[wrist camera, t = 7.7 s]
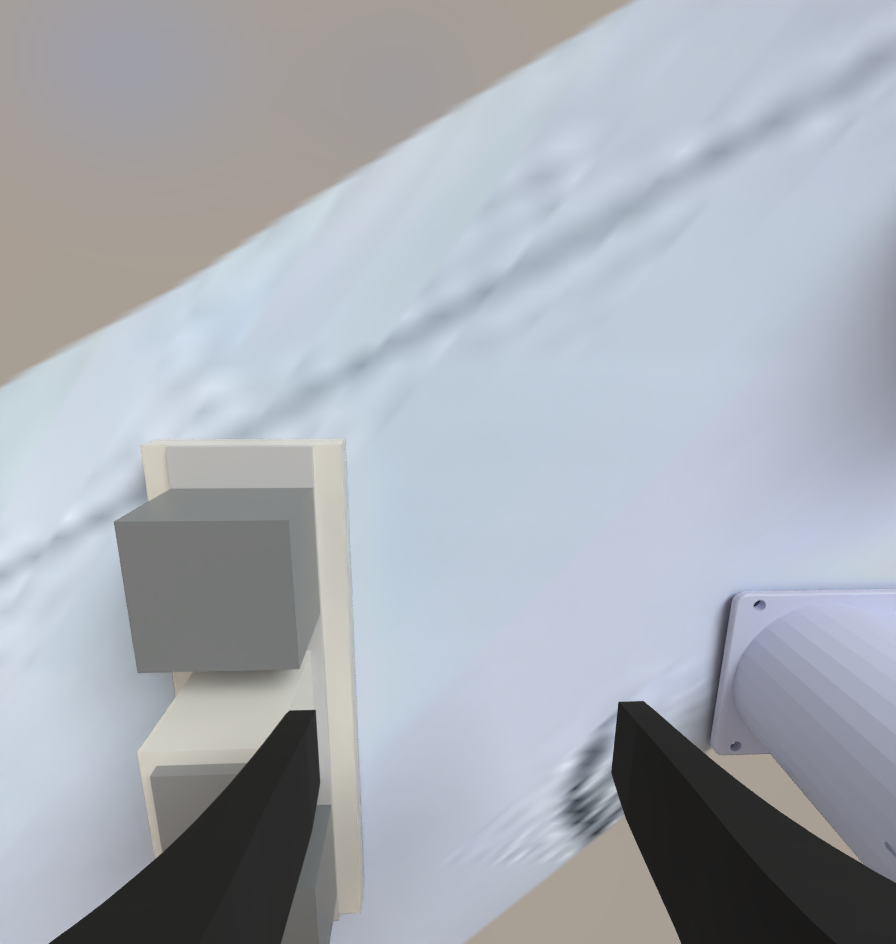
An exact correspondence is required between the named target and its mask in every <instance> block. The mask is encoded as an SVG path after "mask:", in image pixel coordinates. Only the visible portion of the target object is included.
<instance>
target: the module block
mask: <svg viewBox="0 0 896 944" xmlns="http://www.w3.org/2000/svg"><path fill="white" fill-rule="evenodd" d="M289 710H315V708H314V693H313V678H312V663H311V651H306V653H305V656H304V658H303V661H302V664H301V666H300V669H289V670H244V671H199V672H193V673H192V674H191V675H190V677H189V678H188V680H187V681H186V683H185V684H184V685H183V687H182V688H181V690H180V691H179V693H178V694H177V696H176V697H175V698H174V700H173V701H172V703H171V704H170V706H169V707H168V708H167V710H166V711H165V713H164V714H163V716H162V717H161V719H160V720H159V721H158V723H157V724H156V726H155V727H154V729H153V730H152V731H151V733H150V734H149V736H148V737H147V739H146V740H145V742H144V743H143V744H142V746H141V747H140V749H139V750H138V752H137V755H138V761H139V767H140V773H141V779H142V785H143V791H144V797H145V803H146V809H147V815H148V820H149V826H150V832H151V838H152V844H153V850H154V856H155V859H156V858H157V857H158V856H159V855H160V854H161V853H162V852H163V851H165V850H166V849H167V848H168V847H169V846H170V845H171V844H172V843H173V842H174V841H175V840H176V839H177V838H178V837H179V836H180V835H181V834H182V833H183V832H184V831H185V830H186V829H187V828H188V827H189V826H190V825H191V824H192V823H193V822H194V821H195V820H196V819H197V818H198V817H199V816H200V815H201V814H202V813H203V812H204V811H205V810H206V809H207V808H208V807H209V805H210V804H211V803H212V802H213V801H214V800H215V799H216V798H217V797H218V796H219V795H220V794H221V792H222V791H223V790H224V789H225V788H226V787H227V786H228V785H229V784H230V782H231V781H232V780H233V779H234V778H235V777H236V775H237V774H238V773H239V772H240V771H241V769H242V768H243V767H244V766H245V765H246V764H247V762H248V761H249V760H250V759H251V758H252V756H253V755H254V754H255V753H256V751H257V750H258V749H259V748H260V746H261V745H262V744H263V743H264V741H265V740H266V739H267V738H268V736H269V735H270V734H271V732H272V731H273V730H274V728H275V727H276V726H277V725H278V723H279V722H280V721H281V719H282V718H283V717H284V715H285V714H286V713H287V712H288V711H289Z"/></svg>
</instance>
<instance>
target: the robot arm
mask: <svg viewBox="0 0 896 944" xmlns="http://www.w3.org/2000/svg"><path fill="white" fill-rule="evenodd" d="M758 600H760V602H759V604H758V605H757V606H754V604H755V602H757V601H758ZM733 742H735V743H734V744H732V743H733ZM710 745H711V746H712V748H713V749H714V751H715V752H716V753H717V754H719V755H744V754H745V755H746V754H771V755H772V756H773V758H774V759H775V760H776V761H777V762H778V763H779V765H780V766H781V767H782V768H783V769H784V770H785V772H786V773H787V774H788V775H789V776H790V778H791V779H792V780H793V781H794V782H795V784H796V785H797V786H798V787H799V788H800V789H801V791H802V792H803V793H804V794H805V795H806V797H807V798H808V799H809V800H810V801H811V803H812V804H813V805H814V806H815V807H816V809H817V810H818V811H819V812H820V813H821V814H822V815H823V817H824V818H825V819H826V820H827V822H828V823H829V824H830V825H831V826H832V828H833V829H834V830H835V831H836V832H837V833H838V835H839V836H840V837H841V838H842V839H843V841H844V842H845V843H846V844H847V845H848V846H849V848H850V849H851V850H852V851H853V852H854V854H855V855H856V856H857V857H858V858H859V860H860V861H861V862H862V863H863V864H864V865H863V864H862V863H860V862H858V861H856V860H855V859H853V858H851V857H850V856H848V855H846V854H844V853H843V852H841V851H840V850H838V849H836V848H834V847H833V846H831V845H830V844H828V843H826V842H825V841H823V840H822V839H820V838H818V837H817V836H815V835H814V834H812V833H811V832H809V831H808V830H806V829H805V828H803V827H802V826H800V825H799V824H797V823H796V822H794V821H792V820H791V819H790V818H788V817H787V816H785V815H784V814H782V813H781V812H780V811H778V810H777V809H775V808H774V807H773V806H771V805H770V804H768V803H767V802H766V801H764V800H763V799H761V798H760V797H759V796H757V795H756V794H755V793H754V792H752V791H751V790H750V789H748V788H747V787H746V786H744V785H743V784H742V783H740V782H739V781H738V780H736V779H735V778H734V777H733V776H731V775H730V774H729V773H728V772H726V771H725V770H724V769H723V768H721V767H720V766H719V765H718V764H716V763H715V762H714V761H713V760H712V759H710V758H709V757H708V756H707V755H706V754H704V753H703V752H702V751H701V750H700V749H699V748H697V747H696V746H695V745H694V744H693V743H691V742H690V741H689V740H688V739H687V738H686V737H685V736H683V735H682V734H681V733H680V732H679V731H678V730H676V729H675V728H674V727H673V726H672V725H671V724H670V723H668V722H667V721H666V720H665V719H664V718H663V717H662V716H660V715H659V714H658V713H657V712H656V711H655V710H653V709H652V708H651V707H650V706H649V705H647V704H646V703H645V702H644V701H635V702H619V703H618V713H617V723H616V732H615V742H614V752H613V762H612V772H611V773H612V776H613V780H614V783H615V786H616V789H617V793H618V796H619V799H620V802H621V805H622V808H623V811H624V814H625V817H626V820H627V822H628V824H629V827H630V829H631V831H632V833H633V836H634V838H635V840H636V843H637V845H638V847H639V849H640V851H641V854H642V856H643V858H644V860H645V863H646V865H647V867H648V869H649V872H650V874H651V876H652V878H653V880H654V883H655V885H656V887H657V889H658V891H659V894H660V896H661V898H662V900H663V903H664V905H665V907H666V909H667V911H668V914H669V916H670V918H671V920H672V922H673V925H674V927H675V929H676V932H677V934H678V937H679V939H680V941H681V944H896V589H848V590H785V591H743V592H740V593H738V594H736V595H735V596H734V598H733V600H732V603H731V610H730V616H729V623H728V629H727V636H726V642H725V649H724V655H723V662H722V668H721V675H720V681H719V688H718V694H717V701H716V707H715V714H714V720H713V727H712V733H711V739H710ZM319 788H320V768H319V753H318V737H317V721H316V710H289V711H288V712H287V713H286V714H285V715H284V717H283V718H282V719H281V721H280V722H279V723H278V725H277V726H276V727H275V728H274V730H273V731H272V732H271V734H270V735H269V736H268V738H267V739H266V740H265V741H264V743H263V744H262V745H261V746H260V748H259V749H258V750H257V751H256V753H255V754H254V755H253V756H252V758H251V759H250V760H249V761H248V762H247V764H246V765H245V766H244V767H243V768H242V769H241V771H240V772H239V773H238V774H237V775H236V777H235V778H234V779H233V780H232V781H231V782H230V784H229V785H228V786H227V787H226V788H225V789H224V790H223V791H222V792H221V794H220V795H219V796H218V797H217V798H216V799H215V800H214V801H213V802H212V803H211V804H210V805H209V807H208V808H207V809H206V810H205V811H204V812H203V813H202V814H201V815H200V816H199V817H198V818H197V819H196V820H195V821H194V822H193V823H192V824H191V825H190V826H189V827H188V828H187V829H186V830H185V831H184V832H183V833H182V834H181V835H180V836H179V837H178V838H177V839H176V840H175V841H174V842H173V843H172V844H171V845H170V846H169V847H168V848H167V849H166V850H165V851H163V852H162V853H161V854H160V855H159V856H158V857H157V858H156V859H155V860H154V861H152V862H151V863H150V864H149V865H148V866H147V867H146V868H144V869H143V870H142V871H141V872H140V873H139V874H138V875H136V876H135V877H134V878H133V879H132V880H130V881H129V882H128V883H127V884H126V885H124V886H123V887H122V888H121V889H120V890H118V891H117V892H116V893H115V894H114V895H112V896H111V897H110V898H109V899H108V900H106V901H105V902H104V903H102V904H101V905H100V906H99V907H97V908H96V909H95V910H93V911H92V912H91V913H89V914H88V915H87V916H86V917H84V918H83V919H82V920H80V921H79V922H78V923H76V924H75V925H74V926H72V927H71V928H69V929H68V930H67V931H65V932H64V933H63V934H61V935H60V936H58V937H57V938H56V939H54V940H53V941H52V942H50V943H49V944H281V941H282V938H283V934H284V931H285V927H286V923H287V920H288V916H289V913H290V909H291V906H292V902H293V898H294V895H295V891H296V888H297V884H298V881H299V877H300V873H301V870H302V866H303V863H304V859H305V855H306V852H307V848H308V844H309V841H310V837H311V833H312V829H313V823H314V818H315V812H316V806H317V800H318V794H319Z"/></svg>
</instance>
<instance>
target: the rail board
mask: <svg viewBox="0 0 896 944" xmlns="http://www.w3.org/2000/svg"><path fill="white" fill-rule="evenodd" d="M140 446H141V453H142V460H143V468H144V475H145V482H146V489H147V496H148V502H147V503H145V504H143V505H142V506H140V507H138V508H137V509H135V510H133V511H131V512H130V513H128V514H126V515H125V516H123V517H121V518H119V519H118V520H116V521H114V526H115V532H116V538H117V545H118V551H119V557H120V564H121V570H122V576H123V583H124V589H125V595H126V602H127V608H128V614H129V621H130V627H131V633H132V640H133V646H134V652H135V659H136V665H137V671H138V673H154V672H172V675H173V682H174V690H175V697H176V696H177V694H178V693H179V691H180V690H181V688H182V687H183V685H184V684H185V683H186V681H187V680H188V678H189V677H190V675H191V674H192V673H193V672H199V671H244V670H289V669H300V666H301V664H302V661H303V658H304V656H305V653H306V651H311V663H312V678H313V693H314V708H315V710H316V721H317V737H318V753H319V768H320V788H319V794H318V800H317V806H316V812H315V818H314V823H313V829H312V833H311V837H310V841H309V844H308V848H307V852H306V855H305V859H304V863H303V866H302V870H301V873H300V877H299V881H298V884H297V888H296V891H295V895H294V898H293V902H292V906H291V909H290V913H289V916H288V920H287V923H286V927H285V931H284V934H283V938H282V941H281V944H329V943H330V936H331V930H332V924H333V921H338V920H339V914H343V913H361V910H362V901H363V892H364V873H363V849H362V825H361V801H360V777H359V753H358V729H357V705H356V681H355V657H354V633H353V609H352V585H351V561H350V537H349V513H348V489H347V465H346V441H345V439H157V440H154V441H151V442H149V443H146V444H143V445H140Z"/></svg>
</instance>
